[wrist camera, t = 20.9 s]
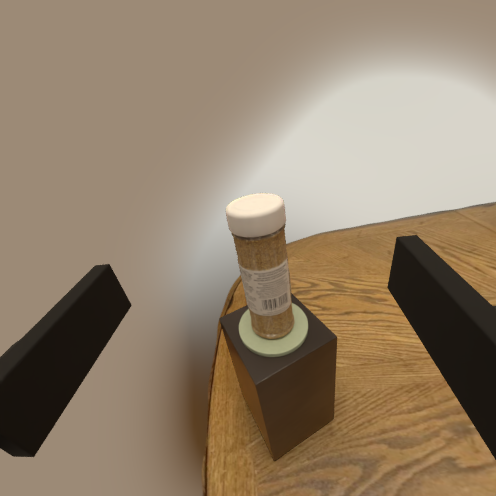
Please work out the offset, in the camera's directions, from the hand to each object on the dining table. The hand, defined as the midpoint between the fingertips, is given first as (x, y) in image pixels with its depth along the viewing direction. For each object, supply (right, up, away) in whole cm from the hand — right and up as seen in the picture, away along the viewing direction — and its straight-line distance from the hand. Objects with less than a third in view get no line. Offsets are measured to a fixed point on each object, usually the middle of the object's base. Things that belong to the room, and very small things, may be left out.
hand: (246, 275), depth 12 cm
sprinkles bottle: (+3, -7, +14) cm, 16 cm away
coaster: (+3, -7, +14) cm, 16 cm away
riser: (+5, -21, +22) cm, 31 cm away
